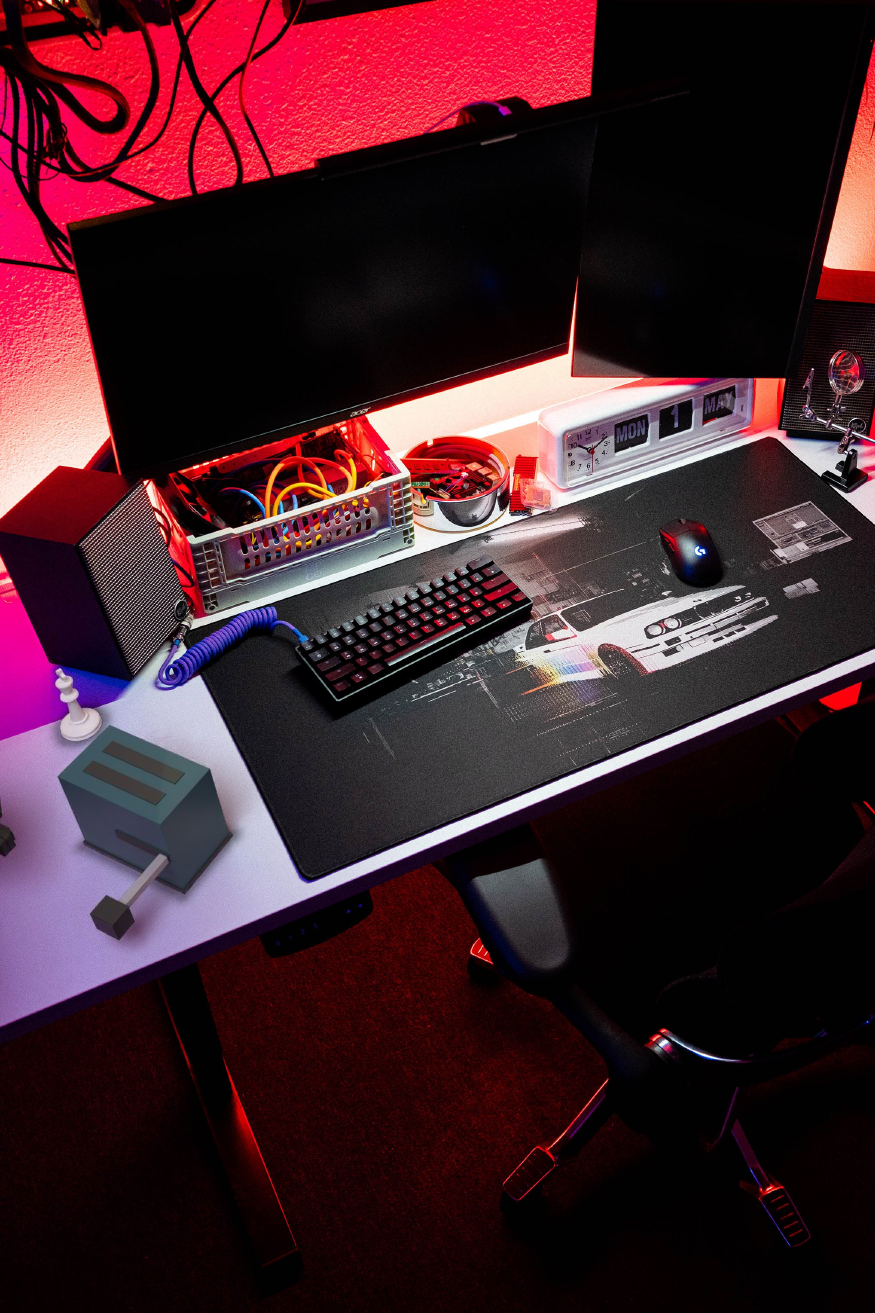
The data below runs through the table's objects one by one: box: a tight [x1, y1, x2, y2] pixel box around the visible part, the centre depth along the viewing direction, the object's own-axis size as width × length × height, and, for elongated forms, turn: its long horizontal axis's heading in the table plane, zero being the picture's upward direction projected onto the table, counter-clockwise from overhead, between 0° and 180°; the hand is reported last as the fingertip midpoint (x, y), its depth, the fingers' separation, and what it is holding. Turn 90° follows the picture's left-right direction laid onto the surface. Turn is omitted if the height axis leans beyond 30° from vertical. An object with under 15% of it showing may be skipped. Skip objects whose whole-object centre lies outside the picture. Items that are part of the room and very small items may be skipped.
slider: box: [89, 854, 169, 941], centre depth 116 cm, size 9×3×3 cm, turn 153°
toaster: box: [57, 724, 234, 895], centre depth 124 cm, size 8×14×12 cm, turn 63°
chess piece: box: [55, 668, 103, 742], centre depth 138 cm, size 5×5×10 cm
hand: (9, 846), depth 114 cm, fingers closed
